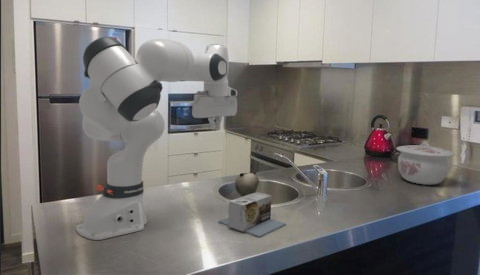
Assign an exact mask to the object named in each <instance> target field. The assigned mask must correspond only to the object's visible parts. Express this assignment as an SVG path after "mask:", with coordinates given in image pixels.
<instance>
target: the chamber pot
mask: <svg viewBox="0 0 480 275" xmlns="http://www.w3.org/2000/svg"><path fill="white" fill-rule="evenodd" d="M396 151H398V152H400V154H399V156H398V159H397V165H398V170H399V173H400V174H401V176H402V178H403V179H404V180H406V181H407V182H409V183H412V184H415V183H416V185H420V184H421V185H423V186H435V185H439V184H440V183H442V182H443V180H445V179H446V177H448V174H449V172H450V170H451V165H452V163H451V161H450V159H449V158H450V157H453V156H456V155H455V152H453V151H452V150H448V149H445V148H441V147H437V146H431V145H430V144H428V143H427V142H423V143H421V144H420V145H419V144H416V145H415V144H412V145H411V144H409V145H402V146H401V145H400V146H397V147H396Z"/></svg>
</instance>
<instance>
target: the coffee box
mask: <svg viewBox="0 0 480 275" xmlns="http://www.w3.org/2000/svg"><path fill="white" fill-rule="evenodd" d="M272 197H273V196H272V194H269V193H264V192H262V191H256V192H255V193H252V194H249V195H246V196H243V197H242V196H240V198H239V197H238V198H234V199H230V200H229V202H228V217H229V224H228V226H227V227H229V228H232V229H235V230H236V231H239V232H242V231H244V230H247V229H249V228H251V227H253V226H255V225H258V224H260V223H262V222H264V221H266V220H269V219H270V218H271V216H272V215H271V212H272Z"/></svg>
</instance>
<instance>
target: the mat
mask: <svg viewBox="0 0 480 275" xmlns="http://www.w3.org/2000/svg"><path fill="white" fill-rule="evenodd" d="M218 223H219V224H221V225H223V226H226V227H229V226H228V224H229V216H227V217H225V218H222V219H220V220H218ZM284 226H287V223H285V222H283V221H280V220H277V219H272V218H271V217H270V219H269V220H266V221H264V222H262V223H260V224H258V225H255V226H253V227H251V228H249V229H247V230H244V231H241V232H243V233H244V234H245V233H246V234H248V235H250V236H251V235H252V237H257V238H259V239H260V238H262V237H264V236H267V235H269V234H270V233H272V232H275V231H277V230H279V229H281V228H283V227H284Z"/></svg>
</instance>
